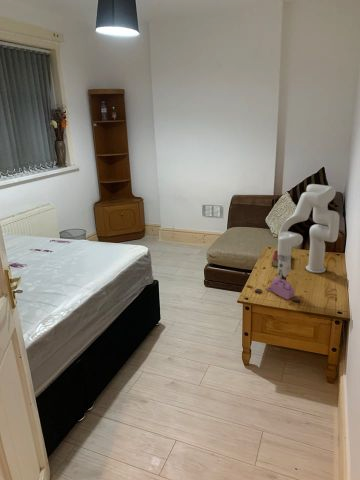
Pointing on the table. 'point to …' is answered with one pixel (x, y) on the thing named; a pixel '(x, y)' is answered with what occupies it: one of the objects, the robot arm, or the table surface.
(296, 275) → the table surface
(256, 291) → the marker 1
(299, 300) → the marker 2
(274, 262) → the hardcover book
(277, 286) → the toy telephone
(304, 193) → the robot arm
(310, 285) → the table surface
